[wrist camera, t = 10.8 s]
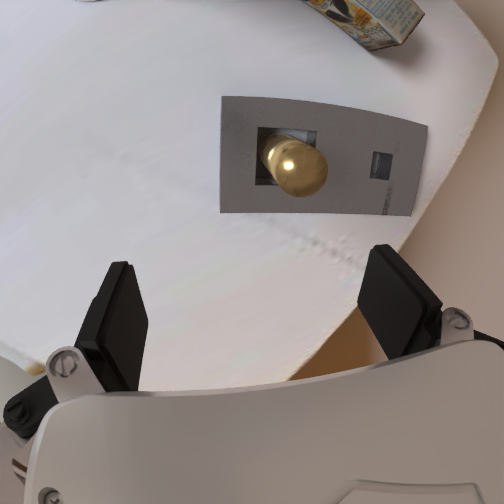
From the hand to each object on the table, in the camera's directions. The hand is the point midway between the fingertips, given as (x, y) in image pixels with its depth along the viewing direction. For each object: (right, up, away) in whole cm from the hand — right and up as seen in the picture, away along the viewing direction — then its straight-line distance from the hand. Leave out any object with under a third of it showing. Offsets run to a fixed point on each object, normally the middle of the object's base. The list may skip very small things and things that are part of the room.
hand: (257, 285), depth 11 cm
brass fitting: (+3, +12, +19) cm, 23 cm away
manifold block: (+8, +12, +20) cm, 25 cm away
